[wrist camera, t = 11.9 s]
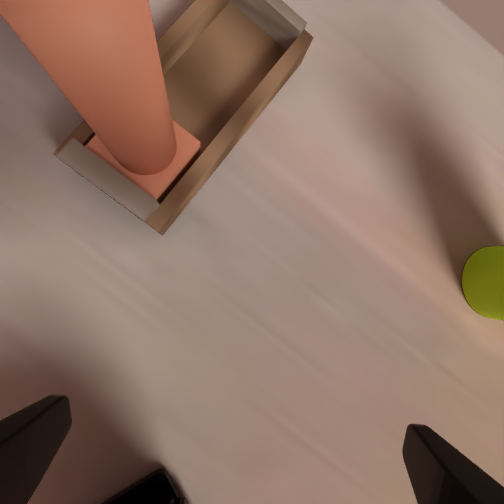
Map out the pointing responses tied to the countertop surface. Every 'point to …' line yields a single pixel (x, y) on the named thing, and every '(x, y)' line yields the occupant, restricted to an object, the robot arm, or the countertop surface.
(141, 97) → the slider knob
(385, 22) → the countertop surface
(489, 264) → the soap dispenser
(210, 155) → the track
